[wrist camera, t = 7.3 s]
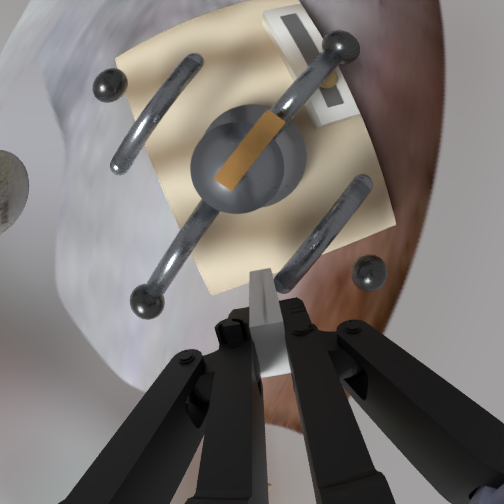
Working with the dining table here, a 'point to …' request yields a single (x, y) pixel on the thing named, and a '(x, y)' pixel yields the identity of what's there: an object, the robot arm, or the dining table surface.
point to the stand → (261, 93)
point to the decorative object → (12, 189)
